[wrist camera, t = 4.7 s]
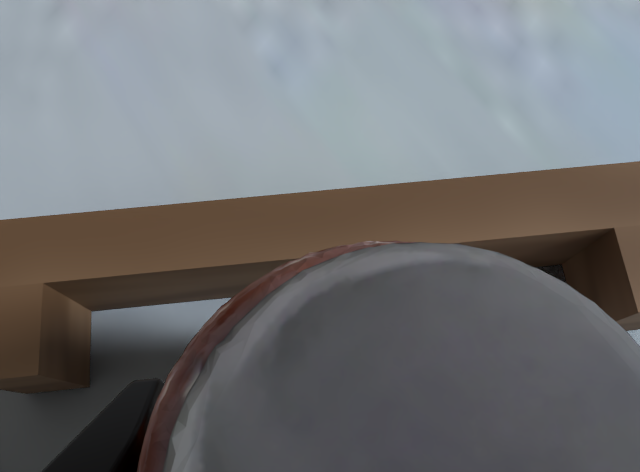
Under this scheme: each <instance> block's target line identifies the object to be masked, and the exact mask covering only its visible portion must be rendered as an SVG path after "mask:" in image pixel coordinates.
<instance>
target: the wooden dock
mask: <svg viewBox="0 0 640 472" xmlns="http://www.w3.org/2000/svg"><path fill="white" fill-rule="evenodd" d="M365 241H379V242H380V241H402V242H425V243H450V244H462V245H467V246H471V247H476V248H481V249H485V250H490V251H495V252H499V253H501V254H504V255H506V256H509V257H512V258H514V259H517V260H519V261H521V262H523V263H525V264H527V265H530V266H532V267H541V266H552V265H562V267H563V271H564V275H565V279H566V283H567V284H568V285H569V286H571V287H572V288H574V289H575V290H576V291H578V292H579V293H581V294H582V295H584V296H585V297H587V298H588V299H590V300H591V301H593V302H594V303H596V304H597V305H598V306H599V307H600V308H601V309H602V310H603V311H604V312H605V313H606V314H608V315H609V316H610V317H611V318H612V319H613V320H615V321H616V322H617V323H618V324H619V325H620V326H621V327H622V328H623V329H624V330H625V331H629V330H638V329H640V161H639V162H628V163H617V164H606V165H595V166H585V167H574V168H563V169H552V170H541V171H530V172H519V173H508V174H497V175H486V176H475V177H465V178H454V179H443V180H432V181H421V182H410V183H399V184H388V185H377V186H366V187H356V188H345V189H334V190H323V191H312V192H301V193H290V194H279V195H268V196H257V197H247V198H236V199H225V200H214V201H203V202H192V203H181V204H170V205H159V206H148V207H137V208H127V209H116V210H105V211H94V212H83V213H72V214H61V215H50V216H39V217H28V218H18V219H7V220H0V390H6V391H12V392H19V393H25V394H29V393H39V392H48V391H58V390H67V389H77V388H86V387H90V346H91V311H98V310H108V309H118V308H128V307H139V306H149V305H159V304H169V303H179V302H189V301H199V300H209V299H219V298H229V297H234V296H235V295H236V294H237V293H239V292H240V291H241V290H243V289H244V288H245V287H247V286H248V285H249V284H251V283H252V282H254V281H256V280H257V279H259V278H261V277H262V276H264V275H266V274H267V273H269V272H271V271H272V270H274V269H275V268H277V267H278V266H280V265H282V264H284V263H287V262H289V261H293V260H296V259H299V258H301V257H303V256H304V255H306V254H308V253H314V252H318V251H321V250H324V249H328V248H332V247H337V246H342V245H353V244H356V243H359V242H365Z"/></svg>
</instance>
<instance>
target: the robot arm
mask: <svg viewBox="0 0 640 472" xmlns="http://www.w3.org/2000/svg"><path fill="white" fill-rule="evenodd" d="M163 386H164V384H163V382H162V380H160V379H158V378H153V379H144V380H136V381H133V382H131V383H130V384H129V385H128V386H127V387H126V388H125V389H124V390H123V391H122V392H121V393H120V394H119V395H118V396H117V397H116V398H115V399H114V400H113V401H112V402H111V403H110V404H109V405H108V406H107V407H106V408H105V409H104V410H103V411H102V412H101V413H100V414H99V415H98V416H97V417H96V418H95V419H94V420H93V421H92V422H91V423H90V424H89V425H88V426H87V427H86V428H85V429H84V430H83V431H82V432H81V433H80V434H79V435H78V436H77V437H76V438H75V439H74V440H73V441H72V442H71V443H70V444H69V445H68V446H67V447H66V448H65V449H64V450H63V451H62V452H61V453H60V454H59V455H58V456H57V457H56V458H55V459H54V460H53V461H52V462H51V463H50V464H49V465H48V466H47V467H46V468H45V469H44V470H43V471H42V472H137V468H138V463H139V458H140V454H141V450H142V446H143V441H144V437H145V434H146V431H147V427H148V424H149V420H150V417H151V414H152V412H153V409H154V406H155V403H156V401H157V398H158V396H159V394H160V393H161V391H162V388H163Z"/></svg>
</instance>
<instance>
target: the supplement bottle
mask: <svg viewBox="0 0 640 472" xmlns="http://www.w3.org/2000/svg"><path fill="white" fill-rule="evenodd" d="M137 472H640V346H639V345H638V344H637V343H636V342H635V340H634V339H633V338H632V337H631V336H630V335H629V334H628V332H627V331H625V330H624V329H623V328H622V327H621V326H620V325H619V324H618V323H617V322H616V321H615V320H613V319H612V318H611V317H610V316H609V315H608V314H606V313H605V312H604V311H603V310H602V309H601V308H600V307H599V306H598V305H597V304H596V303H594V302H593V301H591V300H590V299H588V298H587V297H585V296H584V295H582V294H581V293H579V292H578V291H576V290H575V289H574V288H572V287H571V286H569V285H568V284H567V283H565V282H563V281H561V280H559V279H557V278H555V277H553V276H551V275H549V274H547V273H545V272H543V271H541V270H540V269H537V268H535V267H532V266H530V265H527V264H525V263H523V262H521V261H519V260H517V259H514V258H512V257H509V256H506V255H504V254H501V253H499V252H495V251H490V250H485V249H481V248H476V247H471V246H467V245H462V244H450V243H425V242H402V241H380V242H379V241H365V242H359V243H356V244H353V245H342V246H337V247H332V248H328V249H324V250H321V251H318V252H314V253H308V254H306V255H304V256H303V257H301V258H299V259H296V260H293V261H289V262H287V263H284V264H282V265H280V266H278V267H277V268H275V269H274V270H272V271H271V272H269V273H267V274H266V275H264V276H262V277H261V278H259V279H257V280H256V281H254V282H252V283H251V284H249V285H248V286H247V287H245V288H244V289H243V290H241V291H240V292H239V293H237V294H236V295H235V296H234V297H232V298H231V299H230V300H229V301H228V302H227V303H225V304H224V305H222V306H221V307H220V308H219V309H218V310H217V311H216V312H215V314H214V315H213V316H212V317H211V318H210V319H209V320H208V321H207V322H206V323H205V324H204V325H203V327H202V328H201V329H200V330H199V332H198V333H197V334H196V335H195V336H194V337H193V338H192V340H191V341H190V343H189V344H188V345H187V347H186V348H185V350H184V353H183V355H182V356H181V357H180V358H179V360H178V361H177V362H176V364H175V365H174V366H173V368H172V370H171V371H170V373H169V374H168V376H167V378H166V381H165V384H164V386H163V388H162V391H161V393H160V394H159V396H158V398H157V401H156V403H155V406H154V409H153V412H152V414H151V417H150V420H149V424H148V427H147V431H146V434H145V437H144V441H143V446H142V450H141V454H140V458H139V463H138V468H137Z"/></svg>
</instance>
